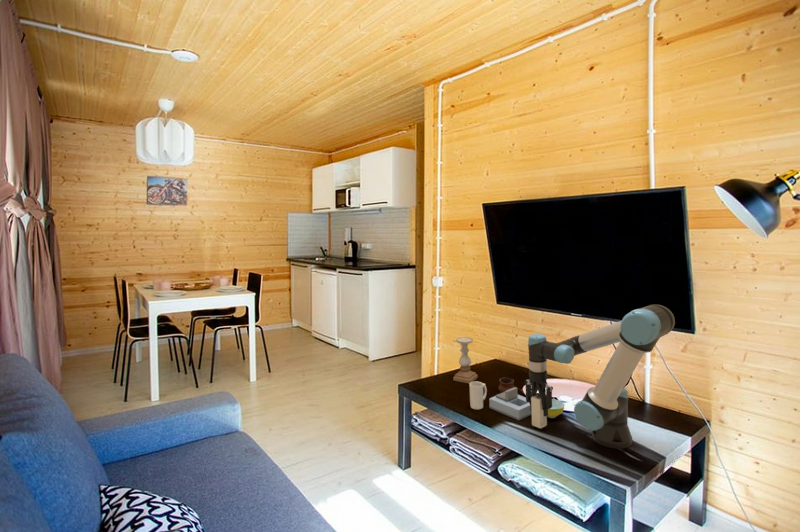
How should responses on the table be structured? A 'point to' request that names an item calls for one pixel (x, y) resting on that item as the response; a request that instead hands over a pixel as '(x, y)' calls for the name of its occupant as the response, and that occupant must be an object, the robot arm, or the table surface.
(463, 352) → the candle holder
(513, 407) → the socket
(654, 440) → the table surface
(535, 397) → the beige square bottle
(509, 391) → the grey wedge block
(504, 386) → the ceramic pot
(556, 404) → the bowl
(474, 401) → the mug
